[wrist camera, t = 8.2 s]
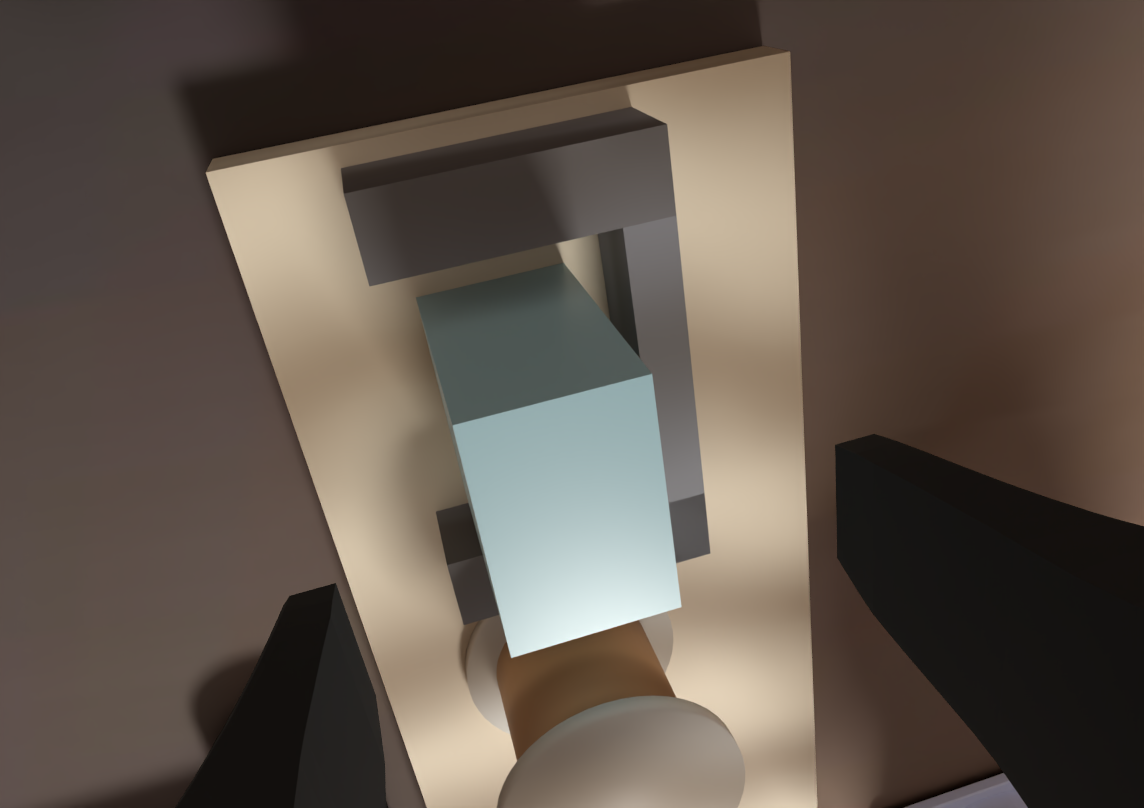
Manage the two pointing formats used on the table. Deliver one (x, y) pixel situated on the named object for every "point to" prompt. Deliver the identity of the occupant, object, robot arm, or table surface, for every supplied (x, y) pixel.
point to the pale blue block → (554, 455)
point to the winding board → (683, 400)
